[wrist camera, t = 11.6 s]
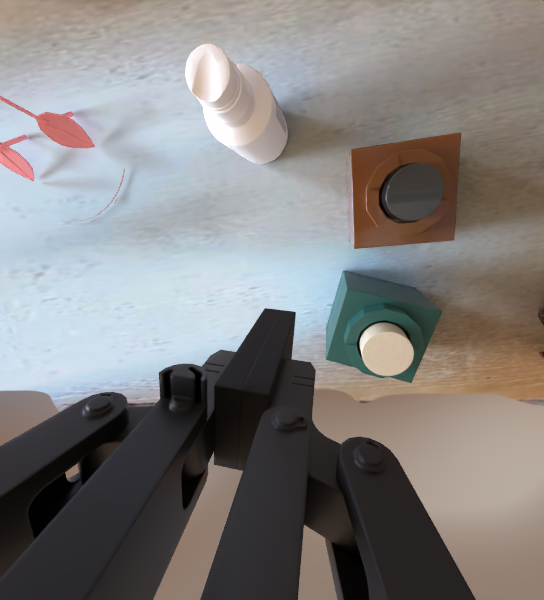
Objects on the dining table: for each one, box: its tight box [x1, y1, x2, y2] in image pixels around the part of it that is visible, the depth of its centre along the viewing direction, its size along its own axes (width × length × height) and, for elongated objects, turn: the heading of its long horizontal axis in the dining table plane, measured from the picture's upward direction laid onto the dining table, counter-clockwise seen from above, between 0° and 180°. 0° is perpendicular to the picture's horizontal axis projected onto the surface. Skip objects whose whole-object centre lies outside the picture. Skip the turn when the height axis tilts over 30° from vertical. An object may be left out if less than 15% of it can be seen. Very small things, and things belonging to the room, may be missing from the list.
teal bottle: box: [326, 271, 442, 383], centre depth 36 cm, size 10×9×12 cm
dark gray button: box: [381, 163, 444, 221], centre depth 27 cm, size 5×5×3 cm
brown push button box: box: [346, 133, 461, 249], centre depth 32 cm, size 10×10×10 cm
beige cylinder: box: [359, 322, 414, 376], centre depth 29 cm, size 5×5×3 cm
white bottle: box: [185, 44, 288, 164], centre depth 29 cm, size 7×7×18 cm
